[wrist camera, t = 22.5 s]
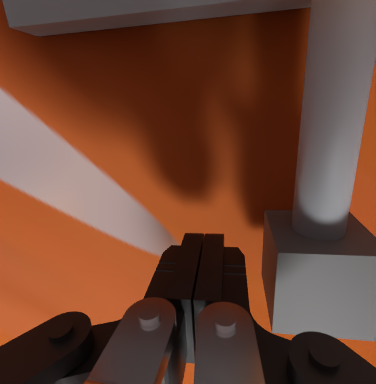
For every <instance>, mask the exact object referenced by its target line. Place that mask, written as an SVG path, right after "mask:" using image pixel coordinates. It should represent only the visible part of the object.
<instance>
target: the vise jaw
mask: <svg viewBox="0 0 376 384" xmlns="http://www.w3.org/2000/svg"><path fill="white" fill-rule="evenodd" d="M375 58H376V0H311V11H310V23H309V34H308V45H307V56H306V67H305V78H304V89H303V100H302V111H301V122H300V134H299V145H298V156H297V167H296V178H295V189H294V200H293V210H265V215H264V235H263V255H262V279H263V284H264V290H265V296H266V301H267V307H268V313H269V318H270V324H271V330H272V333H282V334H294V335H297V334H299V333H302V332H307V331H315V332H321V333H324V334H327V335H330V336H332V337H334V338H341V339H353V340H365V341H375V337H376V237H375V236H374V235H373V234H372V233H371V232H370V231H369V230H367V229H366V228H365V227H364V226H363V225H362V224H361V223H360V222H359V221H358V220H357V219H356V218H355V217H354V216H353V215H352V214H351V213H350V212H349V210H350V204H351V198H352V192H353V186H354V180H355V175H356V169H357V163H358V157H359V151H360V145H361V140H362V134H363V128H364V122H365V116H366V110H367V105H368V99H369V93H370V87H371V81H372V75H373V70H374V64H375Z"/></svg>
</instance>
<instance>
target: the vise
mask: <svg viewBox="0 0 376 384" xmlns="http://www.w3.org/2000/svg"><path fill="white" fill-rule="evenodd" d="M2 1H3V5H4V9H5V13H6V17H7V21H8V25H9V28H12V29H15V30H18V31H21V32H25V33H28V34H31V35H34V36H38V37H39V36H48V35H58V34H67V33H76V32H86V31H95V30H104V29H113V28H123V27H132V26H141V25H151V24H160V23H169V22H178V21H188V20H197V19H206V18H215V17H225V16H234V15H243V14H253V13H262V12H271V11H280V10H290V9H299V8H308V7H311V0H2Z"/></svg>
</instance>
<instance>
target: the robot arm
mask: <svg viewBox="0 0 376 384" xmlns="http://www.w3.org/2000/svg"><path fill="white" fill-rule="evenodd" d="M186 363H195V371H194V384H376V368H375V367H374V366H373V365H371V364H370V363H369V362H367V361H366V360H365V359H363V358H362V357H361V356H359V355H358V354H357V353H356V352H354V351H353V350H352V349H350V348H349V347H348V346H346V345H345V344H344V343H342V342H341V341H339V340H338V339H336V338H334V337H332V336H330V335H327V334H324V333H321V332H315V331H307V332H302V333H299V334H297V335H296V336H295V337H293V339H292V340H288V339H285V338H282V337H280V336H277V335H274V334H272V333H270V332H268V331H266V330H265V329H263V328H262V327H261V326H260V325H259V324H257V322H256V321H255V320H254V319H253V317H252V315H251V313H250V308H249V298H248V288H247V277H246V267H245V256H244V254H243V253H242V252H241V251H240V249H239V248H238V247H224V234H205V237H204V234H203V233H185V235H184V238H183V241H182V244H181V246H177V245H171V246H170V247H169V248H168V249H167V250H165V251H164V252H163V254H162V256H161V259H160V261H159V263H158V266H157V268H156V271H155V273H154V275H153V277H152V280H151V282H150V284H149V287H148V289H147V292H146V294H145V296H144V299H142V300H140V301H137V302H136V303H134V304H133V305H132V306H130V307H129V308H128V310H127V311H126V312H125V314H124V316H123V318H122V319H120V320H117V321H113V322H109V323H104V324H98V325H93V326H92V325H91V321H90V318H89V317H88V316H87V315H86V314H84V313H81V312H67V313H63V314H60V315H57V316H55V317H53V318H51V319H50V320H48V321H46V322H44V323H42V324H40V325H39V326H37V327H35V328H33V329H31V330H29V331H28V332H26V333H24V334H22V335H20V336H19V337H17V338H15V339H13V340H11V341H9V342H8V343H6V344H4V345H2V346H0V384H182V382H183V378H184V372H185V365H186Z"/></svg>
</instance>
